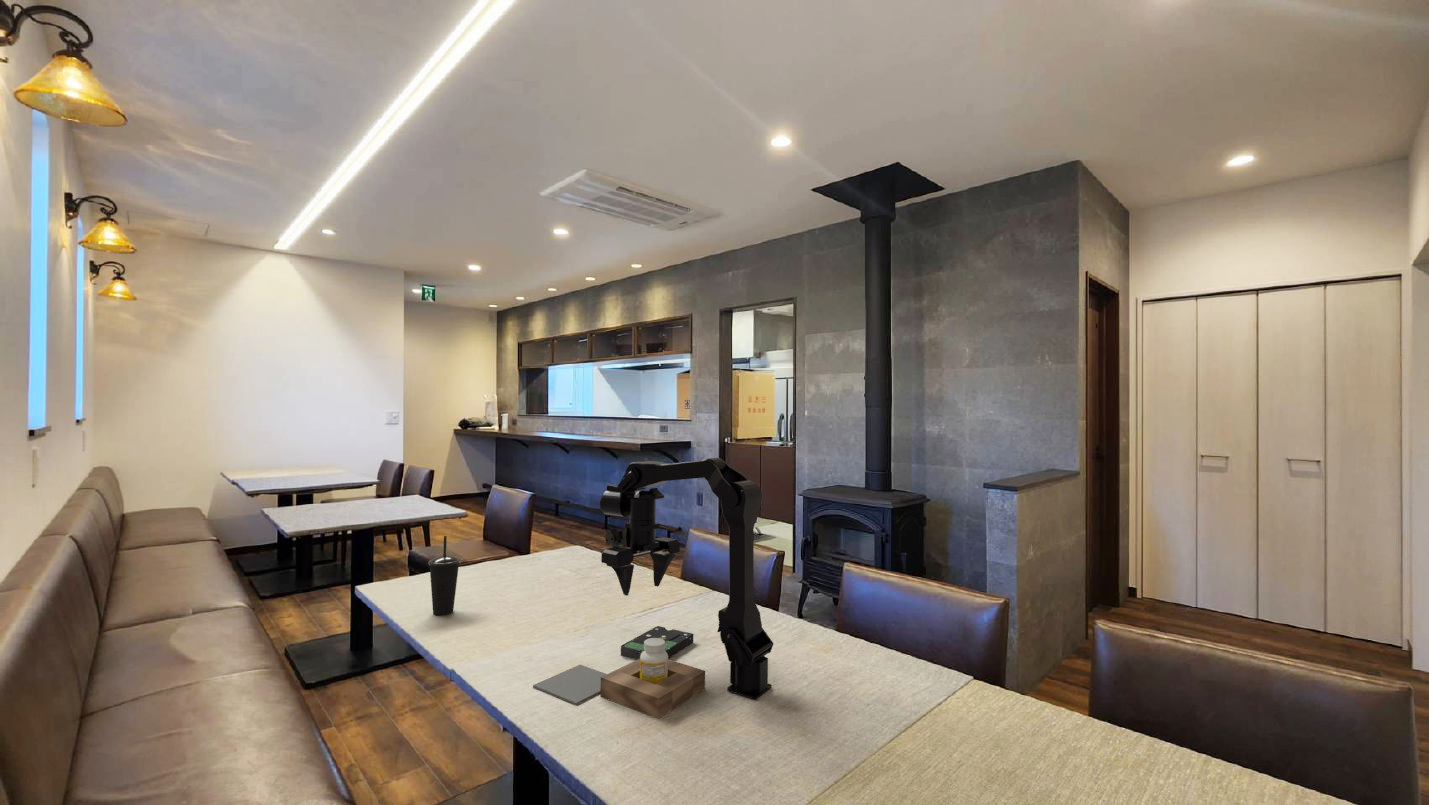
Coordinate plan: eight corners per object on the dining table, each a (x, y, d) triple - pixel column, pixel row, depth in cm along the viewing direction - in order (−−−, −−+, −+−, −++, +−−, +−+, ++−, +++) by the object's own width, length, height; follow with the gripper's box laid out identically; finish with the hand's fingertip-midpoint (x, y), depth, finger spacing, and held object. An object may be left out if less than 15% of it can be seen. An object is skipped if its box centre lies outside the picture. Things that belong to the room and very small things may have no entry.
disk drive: (656, 637, 142) (619, 658, 129) (656, 625, 142) (619, 645, 129) (694, 645, 138) (659, 667, 124) (694, 633, 138) (660, 654, 124)
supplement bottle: (658, 702, 108) (659, 649, 109) (633, 696, 111) (634, 644, 111) (672, 690, 113) (673, 639, 114) (648, 684, 116) (649, 634, 116)
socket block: (704, 689, 114) (705, 670, 114) (658, 719, 102) (658, 698, 102) (649, 670, 122) (649, 653, 122) (600, 696, 110) (600, 677, 110)
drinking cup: (427, 610, 157) (429, 534, 158) (458, 606, 161) (460, 532, 161) (426, 619, 150) (428, 540, 151) (459, 615, 154) (461, 537, 154)
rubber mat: (622, 681, 116) (622, 679, 116) (576, 705, 107) (576, 703, 107) (580, 666, 123) (580, 664, 123) (532, 687, 113) (533, 685, 113)
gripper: (647, 510, 142) (646, 575, 142) (585, 519, 128) (583, 592, 127) (681, 515, 135) (680, 584, 135) (619, 526, 121) (618, 603, 120)
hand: (641, 590), depth 129 cm, fingers open, 9 cm apart
